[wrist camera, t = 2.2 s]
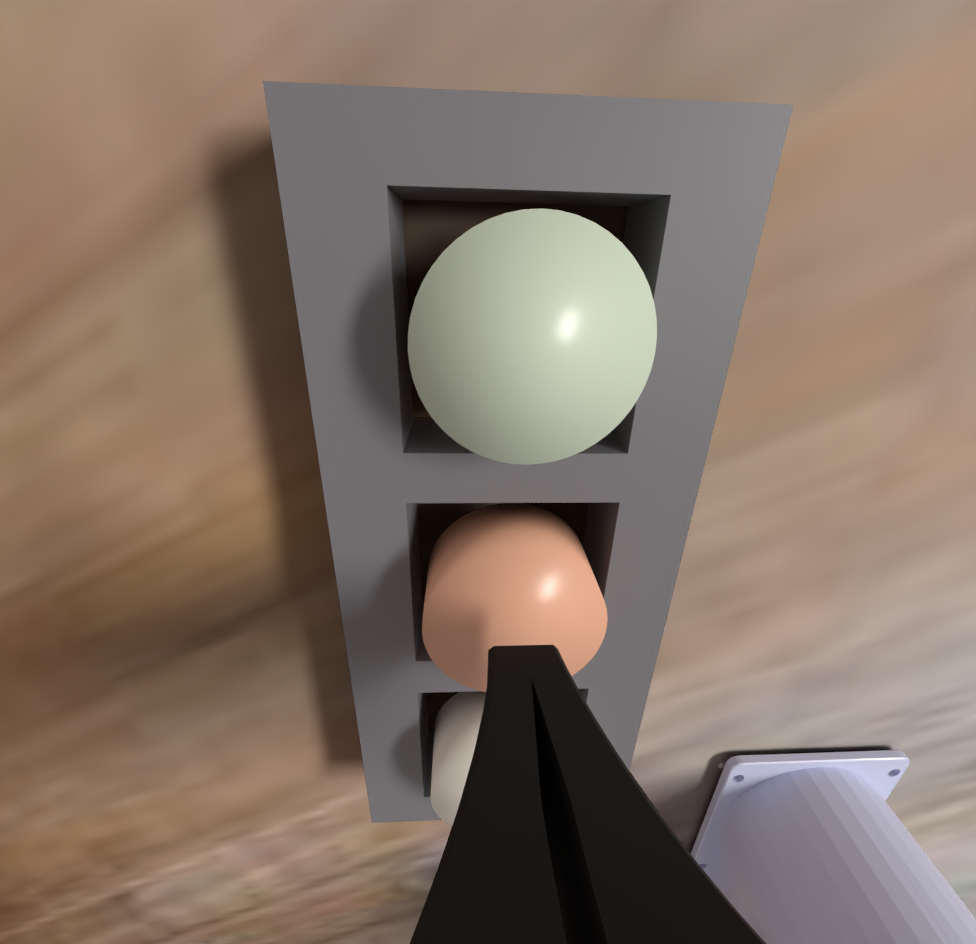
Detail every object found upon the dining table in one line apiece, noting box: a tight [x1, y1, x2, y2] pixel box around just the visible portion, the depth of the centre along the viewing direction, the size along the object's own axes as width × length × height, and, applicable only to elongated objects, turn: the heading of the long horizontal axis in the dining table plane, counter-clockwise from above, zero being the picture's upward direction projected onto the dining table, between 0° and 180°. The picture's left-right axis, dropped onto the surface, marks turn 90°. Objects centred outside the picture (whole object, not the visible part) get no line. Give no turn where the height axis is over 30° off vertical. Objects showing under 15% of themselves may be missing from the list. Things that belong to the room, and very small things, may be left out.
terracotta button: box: [422, 503, 608, 692], centre depth 12 cm, size 4×4×2 cm
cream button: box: [430, 691, 486, 826], centre depth 15 cm, size 4×4×2 cm
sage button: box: [408, 208, 657, 465], centre depth 9 cm, size 4×4×2 cm
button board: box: [263, 81, 793, 823], centre depth 13 cm, size 21×9×2 cm, turn 179°
